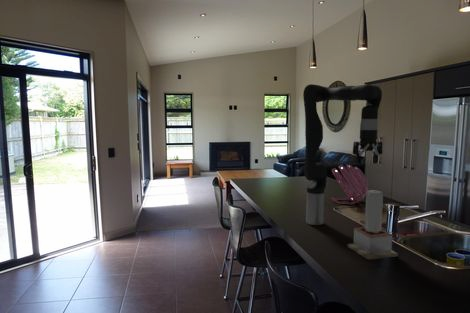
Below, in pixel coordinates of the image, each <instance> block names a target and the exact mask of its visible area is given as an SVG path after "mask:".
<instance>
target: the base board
mask: <svg viewBox="0 0 470 313" xmlns="http://www.w3.org/2000/svg"><path fill="white" fill-rule="evenodd" d="M353 244H354V242H353V243H347V247H348V248H349V249H350V250H352V251H354V252H355V253H357V254H358V255H361V257H363V258H365V259H366V260H368V261H369V260H376V259H386V258H394V257H398V255H399V253H397V252H396V251H394V250H392V249H391V252H389V253H380V254H371V255H369V254H367V253H366V252H364V251H362V250H361V249H359V248H357V247H356V246H354V245H353Z"/></svg>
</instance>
